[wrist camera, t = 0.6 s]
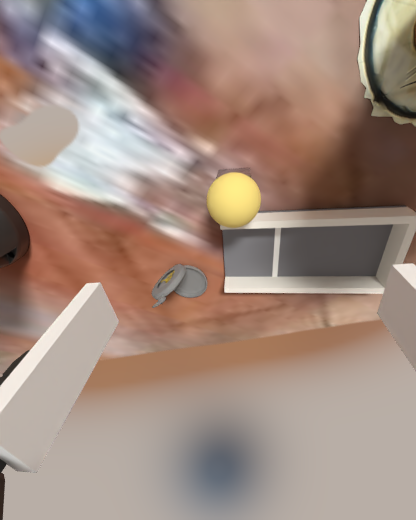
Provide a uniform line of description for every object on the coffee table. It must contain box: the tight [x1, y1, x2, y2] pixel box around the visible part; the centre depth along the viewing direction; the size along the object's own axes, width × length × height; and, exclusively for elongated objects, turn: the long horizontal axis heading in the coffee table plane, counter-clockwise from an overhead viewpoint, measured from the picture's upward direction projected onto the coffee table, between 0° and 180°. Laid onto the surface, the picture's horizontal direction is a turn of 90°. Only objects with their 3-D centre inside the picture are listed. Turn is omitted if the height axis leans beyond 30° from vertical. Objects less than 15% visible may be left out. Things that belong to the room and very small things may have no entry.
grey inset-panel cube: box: [216, 168, 251, 179], centre depth 31 cm, size 4×4×4 cm
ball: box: [207, 172, 261, 228], centre depth 27 cm, size 6×6×6 cm
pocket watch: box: [152, 264, 207, 308], centre depth 38 cm, size 8×8×10 cm
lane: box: [220, 205, 416, 294], centre depth 35 cm, size 24×12×4 cm, turn 95°
